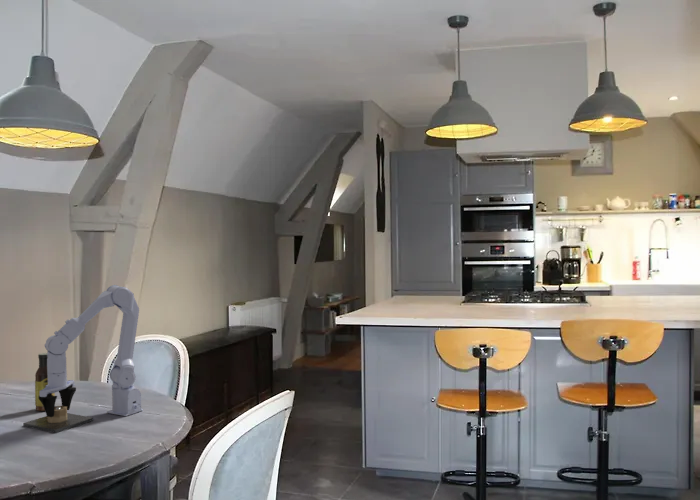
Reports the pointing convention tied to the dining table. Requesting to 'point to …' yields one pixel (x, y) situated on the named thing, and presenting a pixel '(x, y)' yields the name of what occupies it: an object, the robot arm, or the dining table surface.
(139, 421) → the dining table surface
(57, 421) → the ring
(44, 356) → the sauce bottle
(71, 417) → the hub
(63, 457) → the dining table surface
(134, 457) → the dining table surface
